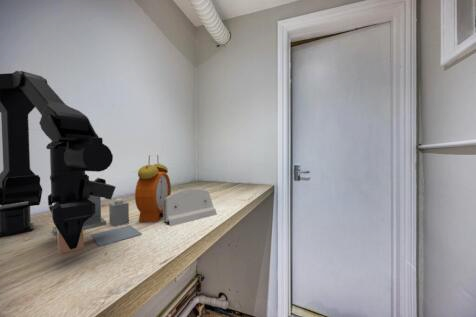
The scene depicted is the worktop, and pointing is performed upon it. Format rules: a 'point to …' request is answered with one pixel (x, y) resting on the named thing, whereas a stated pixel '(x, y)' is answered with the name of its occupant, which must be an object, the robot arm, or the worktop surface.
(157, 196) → the alarm clock
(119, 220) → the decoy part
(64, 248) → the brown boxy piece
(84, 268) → the worktop surface
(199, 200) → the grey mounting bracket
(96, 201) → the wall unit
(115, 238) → the mat
